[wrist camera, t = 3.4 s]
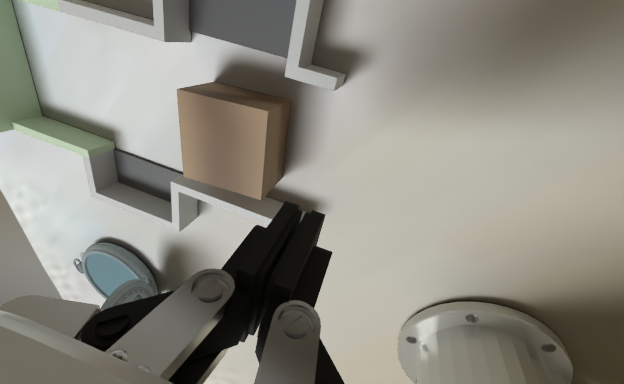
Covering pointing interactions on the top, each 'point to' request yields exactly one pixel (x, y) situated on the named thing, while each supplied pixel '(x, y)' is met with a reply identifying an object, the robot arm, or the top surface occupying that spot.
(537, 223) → the top surface
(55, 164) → the top surface
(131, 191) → the box
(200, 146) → the walnut block
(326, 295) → the top surface
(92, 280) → the pocket watch
